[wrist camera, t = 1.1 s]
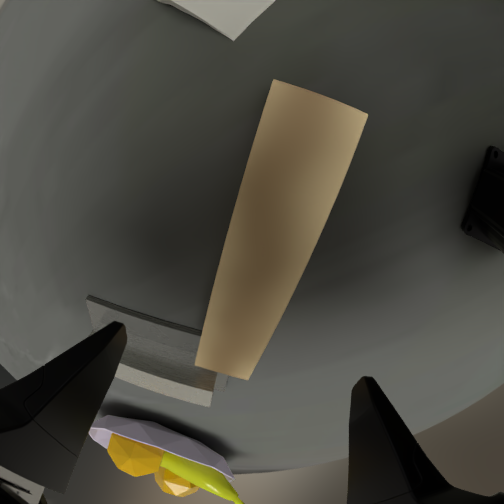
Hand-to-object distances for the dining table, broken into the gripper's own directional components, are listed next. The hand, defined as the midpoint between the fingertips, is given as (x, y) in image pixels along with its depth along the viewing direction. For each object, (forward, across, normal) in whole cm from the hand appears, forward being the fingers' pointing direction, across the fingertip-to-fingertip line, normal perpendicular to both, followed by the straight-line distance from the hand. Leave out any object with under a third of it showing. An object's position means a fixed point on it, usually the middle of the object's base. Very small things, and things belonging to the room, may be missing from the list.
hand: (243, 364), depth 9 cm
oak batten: (+9, 0, 0) cm, 9 cm away
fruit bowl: (+9, +7, +42) cm, 44 cm away
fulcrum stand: (+9, +7, +13) cm, 17 cm away
